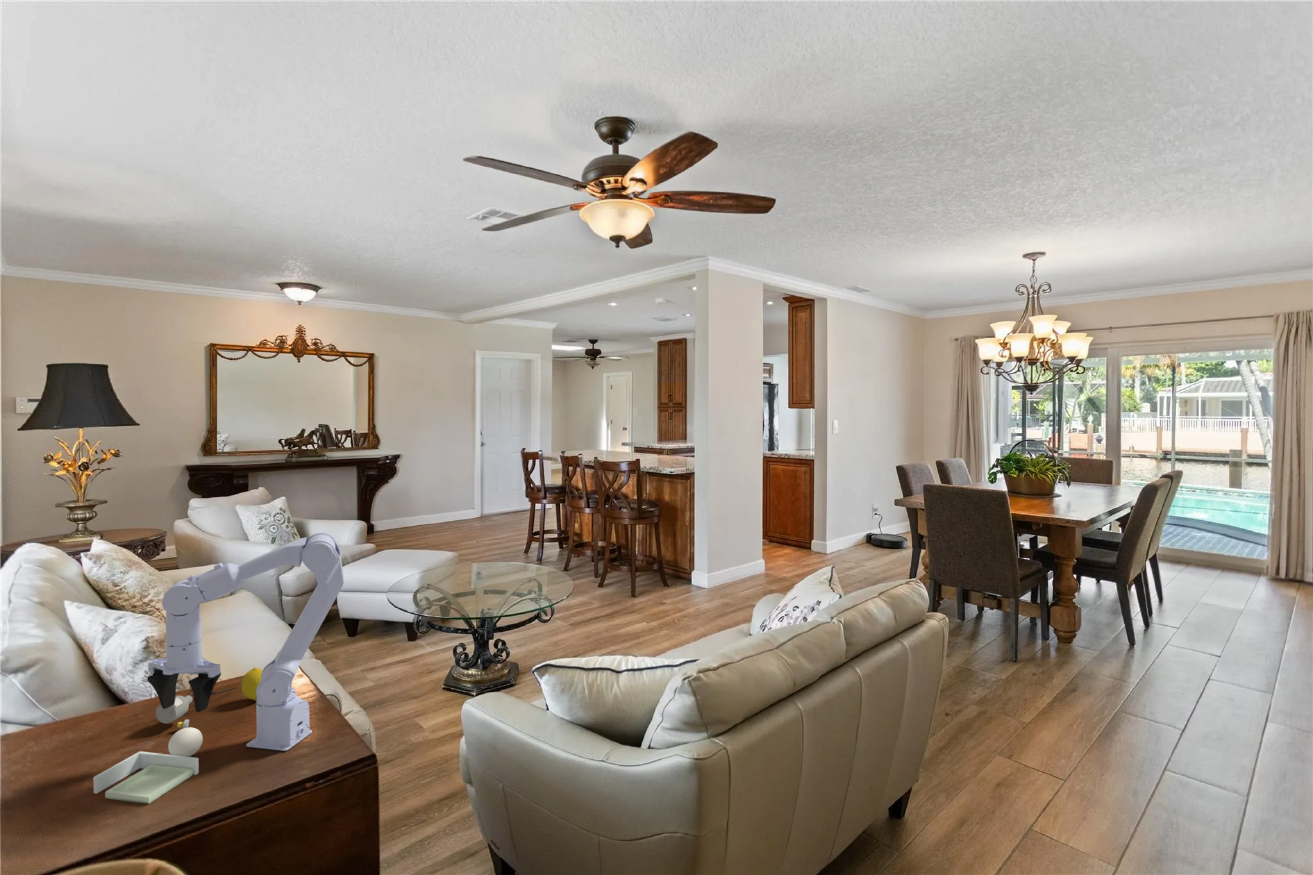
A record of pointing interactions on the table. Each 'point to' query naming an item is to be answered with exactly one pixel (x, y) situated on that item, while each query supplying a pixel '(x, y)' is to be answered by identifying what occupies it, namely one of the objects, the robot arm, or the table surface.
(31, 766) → the table surface
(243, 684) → the lemon
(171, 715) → the reed diffuser
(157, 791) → the resting spot
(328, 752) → the table surface
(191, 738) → the ball
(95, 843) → the table surface
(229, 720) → the table surface
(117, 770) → the acrylic walls
